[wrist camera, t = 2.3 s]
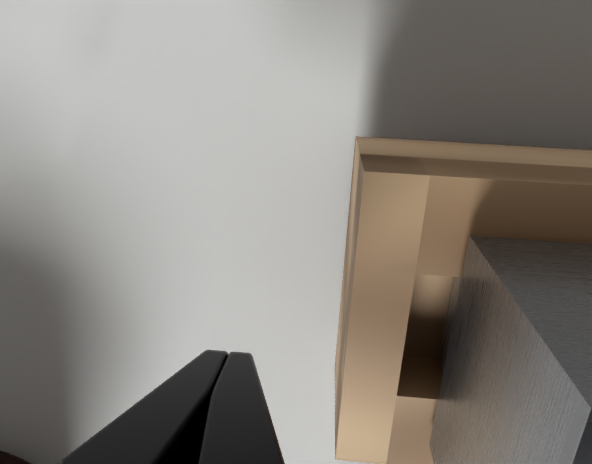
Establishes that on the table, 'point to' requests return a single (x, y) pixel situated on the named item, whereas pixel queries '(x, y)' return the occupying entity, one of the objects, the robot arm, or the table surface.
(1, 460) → the coffee mug
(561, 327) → the grey block
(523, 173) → the light wood rectangular frame
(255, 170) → the table surface
